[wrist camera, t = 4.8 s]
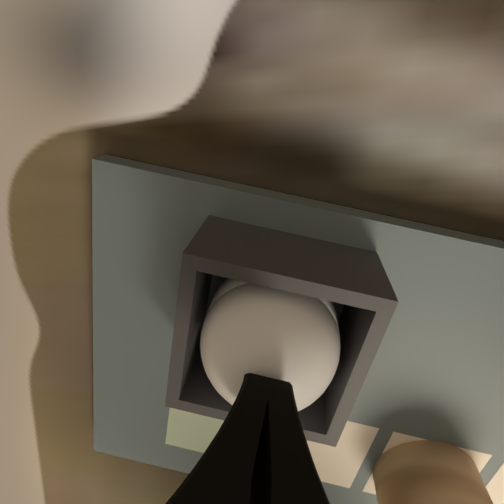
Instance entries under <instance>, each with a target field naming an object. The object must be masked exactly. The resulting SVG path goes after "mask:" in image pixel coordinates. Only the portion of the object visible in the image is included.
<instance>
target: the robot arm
mask: <svg viewBox="0 0 504 504" xmlns="http://www.w3.org/2000/svg"><path fill="white" fill-rule="evenodd" d="M166 504H330V502H329V500H328V498H327V495H326V493H325V490H324V488H323V485H322V483H321V480H320V478H319V475H318V473H317V470H316V467H315V464H314V462H313V459H312V456H311V453H310V450H309V447H308V444H307V441H306V438H305V435H304V431H303V428H302V425H301V421H300V417H299V414H298V410H297V406H296V402H295V397H294V392H293V386H292V385H291V383H290V382H287V381H283V380H279V379H274V378H270V377H266V376H262V375H257V374H253V373H247V374H245V375H244V379H243V382H242V385H241V388H240V391H239V393H238V395H237V397H236V399H235V402H234V404H233V406H232V408H231V410H230V411H229V413H228V415H227V417H226V418H225V420H224V422H223V424H222V425H221V427H220V429H219V431H218V432H217V434H216V435H215V437H214V438H213V440H212V442H211V443H210V445H209V446H208V448H207V449H206V451H205V452H204V454H203V455H202V457H201V458H200V460H199V461H198V462H197V464H196V465H195V467H194V468H193V469H192V471H191V472H190V473H189V475H188V476H187V477H186V479H185V480H184V481H183V483H182V484H181V485H180V487H179V488H178V489H177V490H176V492H175V493H174V494H173V495H172V497H171V498H170V499H169V500H168V501H167V503H166Z"/></svg>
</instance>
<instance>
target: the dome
mask: <svg viewBox="0 0 504 504" xmlns="http://www.w3.org/2000/svg"><path fill="white" fill-rule="evenodd" d="M340 349H341V347H340V332H339V326H338V319H337V312H336V306H335V302H331V301H327V300H323V299H318V298H314V297H309V296H305V295H301V294H296V293H292V292H287V291H283V290H278V289H274V288H270V287H265V286H261V285H256V284H252V283H247V282H243V281H239V280H234V279H230V278H225V277H222V278H221V280H220V282H219V284H218V287H217V289H216V292H215V294H214V297H213V299H212V301H211V304H210V306H209V309H208V311H207V314H206V316H205V319H204V322H203V325H202V329H201V337H200V351H201V359H202V363H203V366H204V369H205V372H206V374H207V377H208V378H209V380H210V382H211V383H212V385H213V387H214V388H215V389H216V391H217V392H218V393H219V394H220V395H221V396H222V397H223V398H224V399H225V400H226V401H227V402H229V403H230V404H231V405H233V404H234V402H235V399H236V397H237V395H238V393H239V391H240V388H241V385H242V382H243V379H244V375H245V374H247V373H253V374H257V375H262V376H266V377H270V378H274V379H279V380H283V381H287V382H290V383H291V385H292V386H293V392H294V397H295V402H296V406H297V410H298V411H300V410H302V409H304V408H306V407H308V406H309V405H311V404H312V403H313V402H314V401H316V400H317V399H318V398H319V397H320V396H321V395H322V394H323V393H324V392H325V390H326V389H327V387H328V386H329V384H330V383H331V381H332V379H333V377H334V375H335V372H336V370H337V367H338V363H339V358H340Z"/></svg>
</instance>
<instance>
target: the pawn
mask: <svg viewBox="0 0 504 504" xmlns="http://www.w3.org/2000/svg"><path fill="white" fill-rule="evenodd" d="M373 479H374V485H375V490H376V496H377V501H378V504H493V502H492V500H491V497H490V495H489V493H488V491H487V489H486V486H485V484H484V482H483V480H482V478H481V475H480V473H479V471H478V469H477V467H476V464H475V462H474V460H473V459H472V458H471V457H470V456H469V455H468V454H467V453H466V452H465V451H463V450H462V449H460V448H458V447H457V446H454V445H452V444H449V443H445V442H441V441H435V440H417V441H410V442H406V443H402V444H399V445H396V446H394V447H392V448H390V449H389V450H387V451H385V452H384V453H383V454H382V455H381V456H380V457H379V458H378V459H377V461H376V462H375V464H374V467H373Z"/></svg>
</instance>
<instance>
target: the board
mask: <svg viewBox="0 0 504 504" xmlns="http://www.w3.org/2000/svg"><path fill="white" fill-rule="evenodd" d="M92 258H93V425H94V451H97V452H101V453H105V454H109V455H113V456H117V457H121V458H126V459H130V460H134V461H138V462H142V463H146V464H150V465H154V466H158V467H162V468H167V469H171V470H175V471H179V472H183V473H187V474H189V473H190V472H191V471H192V469H193V468H194V467H195V465H196V464H197V462H198V461H199V460H200V458H201V457H202V455H203V454H204V452H205V451H206V449H207V448H208V446H209V445H210V443H211V442H212V440H213V438H214V437H215V435H216V434H217V432H218V431H219V429H220V427H221V425H222V424H223V422H224V420H225V418H226V417H227V415H228V413H229V411H230V410H231V408H232V406H233V405H231V404H230V403H229V402H227V401H226V400H225V399H224V398H223V397H222V396H221V395H220V394H219V393H218V392H217V391H216V389H215V388H214V387H213V385H212V383H211V382H210V380H209V378H208V377H207V374H206V372H205V369H204V366H203V363H202V359H201V351H200V337H201V329H202V325H203V322H204V319H205V316H206V314H207V311H208V309H209V306H210V304H211V301H212V299H213V297H214V294H215V292H216V289H217V287H218V284H219V282H220V280H221V278H222V277H225V278H230V279H234V280H239V281H243V282H247V283H252V284H256V285H261V286H265V287H270V288H274V289H278V290H283V291H287V292H292V293H296V294H301V295H305V296H309V297H314V298H318V299H323V300H327V301H331V302H335V306H336V312H337V319H338V326H339V332H340V347H341V349H340V358H339V363H338V367H337V370H336V372H335V375H334V377H333V379H332V381H331V383H330V384H329V386H328V387H327V389H326V390H325V392H324V393H323V394H322V395H321V396H320V397H319V398H318V399H317V400H316V401H314V402H313V403H312V404H311V405H309V406H308V407H306V408H304V409H302V410H300V411H298V414H299V417H300V421H301V425H302V428H303V431H304V435H305V438H306V441H307V444H308V447H309V450H310V453H311V456H312V459H313V462H314V464H315V467H316V470H317V473H318V475H319V478H320V480H321V483H322V485H323V488H324V490H325V493H326V495H327V498H328V500H329V502H330V504H378V501H377V496H376V490H375V485H374V479H373V467H374V464H375V462H376V461H377V459H378V458H379V457H380V456H381V455H382V454H383V453H384V452H385V451H387V450H389V449H390V448H392V447H394V446H396V445H399V444H402V443H406V442H410V441H417V440H435V441H441V442H445V443H449V444H452V445H454V446H457V447H458V448H460V449H462V450H463V451H465V452H466V453H467V454H468V455H469V456H470V457H471V458H472V459H473V460H474V462H475V464H476V467H477V469H478V471H479V473H480V475H481V478H482V480H483V482H484V484H485V486H486V489H487V491H488V493H489V495H490V497H491V500H492V502H493V504H504V241H501V240H497V239H492V238H488V237H483V236H479V235H474V234H469V233H465V232H460V231H456V230H451V229H446V228H442V227H437V226H433V225H428V224H423V223H419V222H414V221H410V220H405V219H400V218H396V217H391V216H387V215H382V214H377V213H373V212H368V211H364V210H359V209H355V208H350V207H345V206H341V205H336V204H332V203H327V202H322V201H318V200H313V199H309V198H304V197H299V196H295V195H290V194H286V193H281V192H276V191H272V190H267V189H263V188H258V187H253V186H249V185H244V184H240V183H235V182H231V181H226V180H221V179H217V178H212V177H208V176H203V175H198V174H194V173H189V172H185V171H180V170H175V169H171V168H166V167H162V166H157V165H152V164H148V163H143V162H139V161H134V160H129V159H125V158H120V157H116V156H111V155H107V154H104V155H101V156H98V157H95V158H93V159H92Z"/></svg>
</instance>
